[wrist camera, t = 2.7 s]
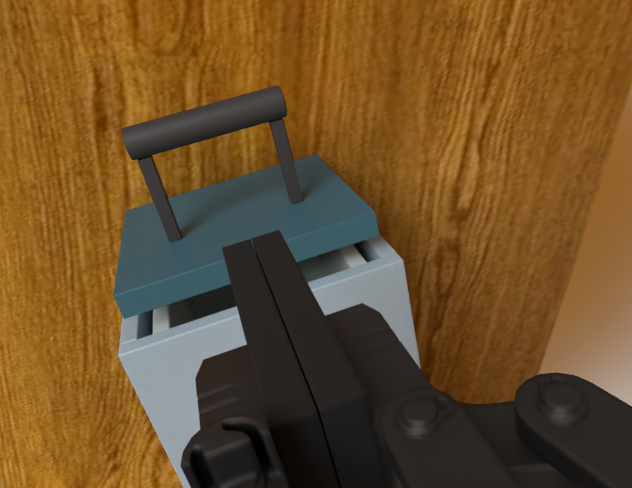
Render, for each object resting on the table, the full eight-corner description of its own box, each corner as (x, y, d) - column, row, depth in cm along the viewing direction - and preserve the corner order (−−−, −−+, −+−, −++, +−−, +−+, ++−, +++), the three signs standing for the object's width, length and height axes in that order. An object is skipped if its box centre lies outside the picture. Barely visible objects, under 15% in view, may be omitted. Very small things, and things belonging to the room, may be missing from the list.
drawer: (85, 115, 28) (52, 168, 19) (294, 58, 29) (352, 84, 20) (200, 388, 36) (213, 509, 28) (356, 332, 38) (415, 431, 29)
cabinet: (129, 241, 32) (117, 356, 22) (328, 180, 34) (404, 259, 23) (205, 416, 38) (222, 567, 28) (367, 358, 40) (439, 479, 30)
